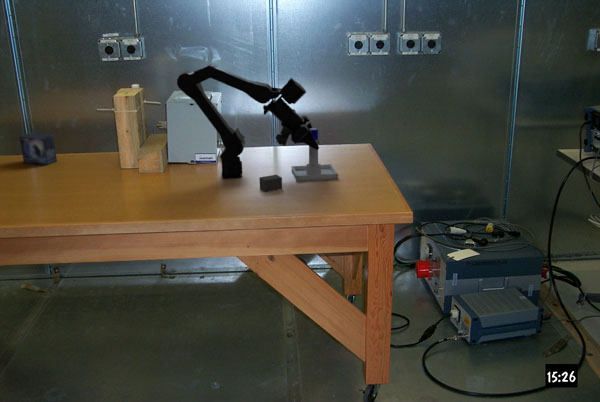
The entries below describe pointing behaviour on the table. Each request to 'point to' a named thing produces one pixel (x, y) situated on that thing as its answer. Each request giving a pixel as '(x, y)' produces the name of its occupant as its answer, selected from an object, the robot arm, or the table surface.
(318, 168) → the bolt
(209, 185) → the table surface
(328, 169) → the tray
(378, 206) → the table surface
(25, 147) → the small box
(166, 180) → the table surface
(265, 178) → the block
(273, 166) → the table surface
